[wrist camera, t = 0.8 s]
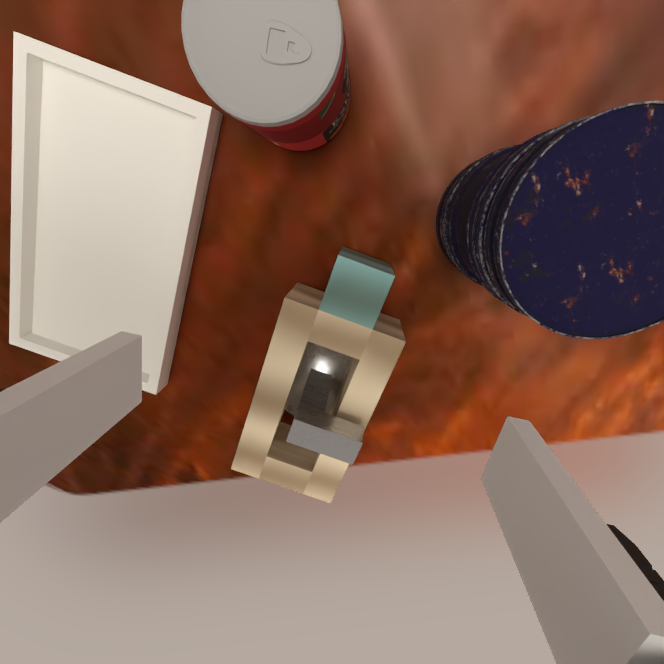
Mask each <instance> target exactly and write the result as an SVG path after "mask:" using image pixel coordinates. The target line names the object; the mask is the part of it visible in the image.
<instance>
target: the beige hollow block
mask: <svg viewBox="0 0 664 664" xmlns="http://www.w3.org/2000/svg"><path fill="white" fill-rule="evenodd" d="M394 278H395V274H394V272H393V269H392V267H391V265H390V264H389V263H386V262H384V261H381V260H378V259H376V258H373V257H370V256H368V255H365V254H362V253H360V252H357V251H354V250H352V249H349V248H346V247H344V246H343V247H342V249H341V250H340V252H339V254H338V257H337V260H336V262H335V265H334V268H333V271H332V274H331V276H330V279H329V282H328V285H327V288H326V291H325V292H323V291H320V290H317V289H315V288H312V287H309V286H306V285H304V284H301V283H298V282H297V284H296V285H295V286H294V287H293V288H292V289H291V291H290V292H289V293H288V294H287V295H286V296H285V298H284V301H283V304H282V307H281V311H280V314H279V317H278V320H277V323H276V327H275V330H274V333H273V336H272V339H271V343H270V346H269V349H268V352H267V355H266V358H265V362H264V365H263V368H262V371H261V374H260V378H259V381H258V384H257V387H256V390H255V394H254V397H253V400H252V403H251V406H250V410H249V413H248V416H247V419H246V422H245V426H244V429H243V432H242V435H241V438H240V442H239V445H238V448H237V451H236V454H235V457H234V461H233V464H232V467H231V469H233V470H235V471H238V472H241V473H244V474H247V475H250V476H253V477H256V478H259V479H262V480H264V481H268V482H270V483H273V484H276V485H279V486H282V487H285V488H288V489H291V490H293V491H296V492H300V493H302V494H305V495H308V496H311V497H314V498H317V499H319V500H323V501H325V502H328V503H331V501H332V499H333V497H334V494H335V492H336V490H337V488H338V486H339V484H340V482H341V480H342V478H343V475H344V473H345V471H346V469H347V467H348V465H349V463H346V462H343V461H340V460H337V459H334V458H332V457H329V456H326V455H323V454H320V453H317V452H314V451H312V450H309V449H306V448H303V447H300V446H297V445H294V444H292V443H289V442H286V440H287V437H288V434H289V431H290V428H291V425H289V424H286V423H283V422H280V421H281V418H282V415H283V412H284V410H285V407H286V404H287V401H288V398H289V396H290V393H291V390H292V387H293V384H294V382H295V379H296V376H297V373H298V370H299V368H300V365H301V362H302V359H303V356H304V353H305V351H306V348H307V345H308V342H311V343H314V344H317V345H320V346H322V347H325V348H328V349H331V350H334V351H336V352H339V353H342V354H345V355H347V356H350V357H352V358H351V360H350V363H349V365H348V367H347V370H346V372H345V375H344V377H343V380H342V382H341V384H340V387H339V389H338V392H337V394H336V397H335V399H334V401H333V404H332V406H331V409H330V411H329V413H328V414H330V415H333V416H336V417H339V418H341V419H344V420H347V421H350V422H353V423H356V424H358V425H361V426H363V433H364V431H365V428H366V426H367V424H368V422H369V420H370V418H371V416H372V413H373V411H374V409H375V407H376V405H377V403H378V401H379V398H380V396H381V394H382V392H383V390H384V388H385V386H386V383H387V381H388V379H389V377H390V375H391V373H392V371H393V369H394V366H395V364H396V362H397V360H398V358H399V356H400V354H401V351H402V349H403V347H404V345H405V343H406V340H405V337H404V333H403V330H402V326H401V323H400V320H399V319H396V318H393V317H391V316H388V315H385V314H383V313H380V311H381V309H382V306H383V304H384V301H385V299H386V297H387V294H388V292H389V290H390V287H391V285H392V283H393V280H394Z"/></svg>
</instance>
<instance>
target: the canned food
mask: <svg viewBox="0 0 664 664" xmlns="http://www.w3.org/2000/svg"><path fill="white" fill-rule="evenodd" d="M182 36H183V43H184V49H185V52H186V55H187V58H188V61H189V64H190V67H191V69H192V71H193V73H194V75H195V77H196V79H197V81H198V82H199V84H200V85H201V86H202V88H203V89H204V90H205V92H206V93H207V95H208V96H209V97H210V98H211V99H212V100H213V101H214V102H215V103H216V104H217V105H218V106H219V107H220V108H221V109H222V110H223V111H225V112H227V113H228V114H229V115H230V116H232V117H233V118H235V119H237V120H238V121H240V122H241V123H243V124H244V125H246V126H247V127H249V128H251V129H252V130H254V131H255V132H257V133H259V134H260V135H262V136H263V137H265V138H266V139H268V140H270V141H271V142H273V143H274V144H276V145H278V146H280V147H283V148H285V149H288V150H294V151H307V150H311V149H315V148H317V147H319V146H321V145H323V144H325V143H327V142H328V141H329V140H330V139H332V138H333V137H334V136H335V135H336V133H337V132H338V131H339V130H340V128H341V127H342V125H343V123H344V121H345V119H346V116H347V113H348V110H349V106H350V99H351V87H350V77H349V68H348V59H347V51H346V42H345V34H344V29H343V22H342V17H341V12H340V7H339V4H338V1H337V0H184V1H183V7H182Z"/></svg>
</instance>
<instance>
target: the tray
mask: <svg viewBox="0 0 664 664" xmlns="http://www.w3.org/2000/svg"><path fill="white" fill-rule="evenodd" d="M222 117H223V114H222V113H221V112H219V111H217V110H216V109H214V108H213V107H210V106H208V105H205V104H203V103H200V102H197V101H195V100H192V99H190V98H187V97H184V96H182V95H179V94H177V93H174V92H171V91H169V90H166V89H163V88H161V87H158V86H156V85H153V84H150V83H148V82H145V81H143V80H140V79H137V78H135V77H132V76H129V75H127V74H124V73H122V72H119V71H116V70H114V69H111V68H109V67H106V66H103V65H101V64H98V63H96V62H93V61H90V60H88V59H85V58H82V57H80V56H77V55H75V54H72V53H69V52H67V51H64V50H62V49H59V48H56V47H54V46H51V45H49V44H46V43H43V42H41V41H38V40H35V39H33V38H30V37H28V36H25V35H22V34H20V33H17V32H15V31H14V41H13V110H12V180H11V249H10V319H9V344H12V345H15V346H18V347H21V348H24V349H27V350H29V351H32V352H35V353H38V354H41V355H44V356H47V357H49V358H52V359H55V360H58V361H63V360H65V359H67V358H69V357H71V356H73V355H75V354H77V353H79V352H81V351H83V350H85V349H87V348H89V347H91V346H93V345H95V344H97V343H99V342H101V341H103V340H105V339H107V338H109V337H111V336H113V335H115V334H117V333H119V332H121V331H123V332H128V333H132V334H137V335H141V336H142V390H144V391H146V392H149V393H152V394H155V395H156V394H157V393H159V392H160V391H161V390H162V389H163V388H164V387H165V386H166V385H167V384H168V380H169V375H170V370H171V365H172V360H173V356H174V351H175V346H176V341H177V336H178V331H179V326H180V322H181V317H182V312H183V307H184V302H185V297H186V292H187V287H188V283H189V278H190V273H191V268H192V263H193V258H194V253H195V248H196V244H197V239H198V234H199V229H200V224H201V219H202V214H203V209H204V205H205V200H206V195H207V190H208V185H209V180H210V175H211V171H212V166H213V161H214V156H215V151H216V146H217V141H218V136H219V132H220V127H221V122H222Z"/></svg>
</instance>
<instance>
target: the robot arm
mask: <svg viewBox="0 0 664 664" xmlns="http://www.w3.org/2000/svg"><path fill="white" fill-rule="evenodd" d="M141 402H142V336H141V335H137V334H132V333H128V332H123V331H121V332H119V333H117V334H115V335H113V336H111V337H109V338H107V339H105V340H103V341H101V342H99V343H97V344H95V345H93V346H91V347H89V348H87V349H85V350H83V351H81V352H79V353H77V354H75V355H73V356H71V357H69V358H67V359H65V360H63V361H61V362H59V363H57V364H55V365H53V366H51V367H49V368H47V369H45V370H43V371H41V372H39V373H37V374H35V375H33V376H31V377H29V378H27V379H25V380H23V381H21V382H19V383H17V384H15V385H13V386H11V387H9V388H7V389H5V388H4V389H0V522H2V521H3V520H4V519H5V518H6V517H8V516H9V515H10V514H11V513H12V512H13V511H15V510H16V509H17V508H18V507H19V506H20V505H22V504H23V503H24V502H25V501H26V500H27V499H29V498H30V497H31V496H32V495H33V494H34V493H36V492H37V491H38V490H39V489H40V488H41V487H43V486H44V485H45V484H46V483H47V482H48V481H50V480H51V479H52V478H53V477H54V476H55V475H57V474H58V473H59V472H60V471H61V470H62V469H64V468H65V467H66V466H67V465H68V464H69V463H71V462H72V461H73V460H74V459H75V458H76V457H78V456H79V455H80V454H81V453H82V452H83V451H85V450H86V449H87V448H88V447H89V446H90V445H92V444H93V443H94V442H95V441H96V440H97V439H99V438H100V437H101V436H102V435H103V434H104V433H106V432H107V431H108V430H109V429H110V428H111V427H113V426H114V425H115V424H116V423H117V422H118V421H120V420H121V419H122V418H123V417H124V416H125V415H127V414H128V413H129V412H130V411H131V410H132V409H134V408H135V407H136V406H137V405H138V404H140V403H141ZM481 480H482V482H483V485H484V487H485V489H486V492H487V495H488V497H489V499H490V502H491V504H492V507H493V509H494V512H495V514H496V516H497V519H498V521H499V524H500V526H501V529H502V531H503V533H504V536H505V539H506V541H507V543H508V546H509V548H510V551H511V553H512V555H513V558H514V561H515V563H516V566H517V568H518V570H519V573H520V575H521V578H522V580H523V583H524V585H525V587H526V590H527V592H528V595H529V597H530V600H531V602H532V605H533V607H534V610H535V612H536V614H537V617H538V619H539V622H540V624H541V627H542V629H543V632H544V634H545V637H546V639H547V641H548V644H549V646H550V649H551V651H552V654H553V656H554V659H555V661H556V663H557V664H664V581H663V579H662V578H661V577H660V576H659V575H658V573H657V572H656V571H655V570H653V569H652V565H651V564H650V563H649V561H648V560H647V559H646V558H645V556H644V555H643V554H642V553H641V551H640V550H639V549H638V547H637V546H636V545H635V544H634V543H632V542H631V541H630V540H629V539H628V538H627V537H626V536H625V535H624V534H623V533H621V532H620V531H619V530H618V529H617V528H616V527H615V526H613V525H609V524H606V523H605V522H604V521H603V519H602V518H601V516H600V515H599V514H598V512H597V511H596V510H595V508H594V507H593V506H592V504H591V503H590V502H589V500H588V499H587V498H586V496H585V495H584V494H583V492H582V491H581V490H580V488H579V487H578V486H577V484H576V483H575V482H574V480H573V479H572V477H571V476H570V475H569V473H568V472H567V471H566V469H565V468H564V467H563V465H562V464H561V463H560V461H559V460H558V459H557V457H556V456H555V455H554V453H553V452H552V451H551V449H550V448H549V446H548V445H547V444H546V442H545V441H544V440H543V438H542V437H541V436H540V434H539V433H538V432H537V430H536V429H535V428H534V426H533V425H532V424H531V422H530V421H527V420H523V419H518V418H514V417H509V416H507V418H506V421H505V423H504V425H503V428H502V430H501V432H500V435H499V437H498V439H497V442H496V444H495V446H494V449H493V451H492V453H491V455H490V458H489V460H488V462H487V465H486V467H485V469H484V472H483V474H482V477H481Z"/></svg>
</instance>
